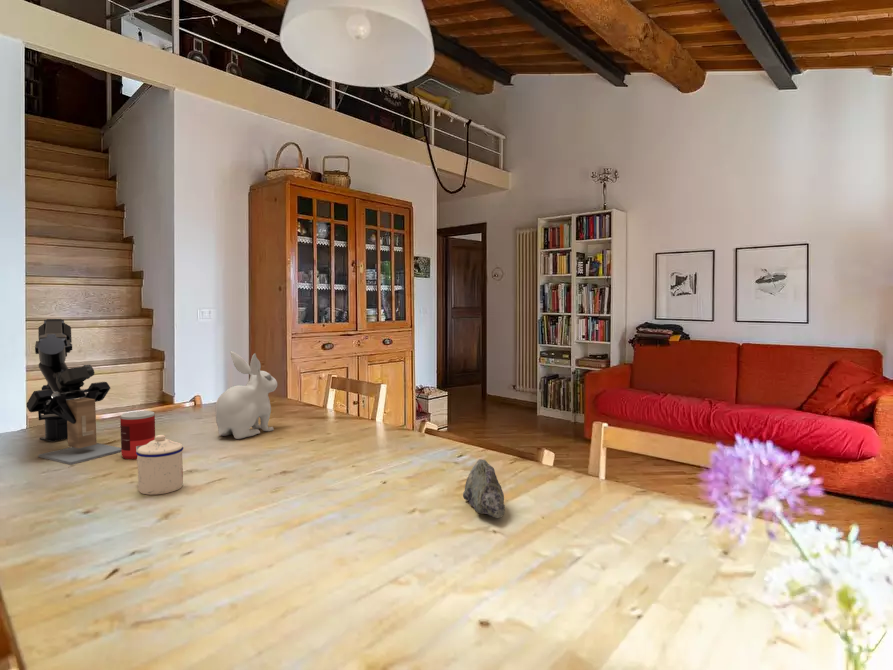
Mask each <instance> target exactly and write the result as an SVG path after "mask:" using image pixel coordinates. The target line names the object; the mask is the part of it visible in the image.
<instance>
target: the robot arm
mask: <svg viewBox="0 0 893 670" xmlns="http://www.w3.org/2000/svg"><path fill="white" fill-rule="evenodd" d="M37 329H38V340H37V341H35V346H34V351H35V352H34V353H35V354H36V355H38V359H39V363H38V368H39V370H40V372H41V374H42V375H43V377H44V379H45V380H46V382H47V384H43V386H41V390H40V389H39V390H34V391H33V392H32V394H31V396H30V397H29V398H28V400H27V402H26V408H27V410H28V412H29V413H36V412H37V413H38V416H37V417H38V421H44V436H41V437H39V440H42V441H44V442H45V441H46V442H51V443H55V442H57V441H62V440H63V441H64V440H68V431H67V421H69V422H71V423H72V424H75V423H76V419H75V417H74V415H73V413H72V412H71V410H70V408H69V407H68V405H67V403H66V400H73V399H79V398H90V399H95V403H97V402H101V401H103V400H104V399H105V397H106V396H107V394H108V393H109V391H110V390H111V386H110V384H109V383H108V382H107V381H98V382H92V383H91V384H90V385H89V386H88V388H86V389H84V388H83V386H85V383H84V381H86V380H89V379H90V378H91V377H93V376H94V375H95V370H94V368H93V366H92V364H83V366H79V367H78V366H77V367H70V368H69V367H68V365H67V364H66V362H65V361H66V359H67V357H68V354H69V353H71V352H72V351H73V344H72V341H73V340H72V327H71V326H70V325H69V324H68V323H65V320H64V319H62V318H47V319H44V320H43V323H42V324H41V325H39V327H38V328H37Z"/></svg>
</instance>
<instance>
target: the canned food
mask: <svg viewBox="0 0 893 670" xmlns="http://www.w3.org/2000/svg"><path fill="white" fill-rule="evenodd" d="M155 416H156V415H155V412H154V411H151V410H139V411H130V412H125V413H122V414H121V415H120V416H119V417H120V419H119V420H120V421H119V422H120V424H119V425H120V448H121V452H120V454H121V457H122V458H123V459H125V460H137V456H138V455H137V454H136V452H137V449H138V448H139V447H141V446H143V445H146V444H148V443H149V442H151V441H153V440H155V436H156V418H155Z"/></svg>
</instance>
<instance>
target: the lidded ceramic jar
mask: <svg viewBox="0 0 893 670" xmlns="http://www.w3.org/2000/svg"><path fill="white" fill-rule="evenodd" d="M183 450H184V447H183V444H182V443H181V442H177V441H172V440H171V439H167V438H166V436H165V435H164V434H158V435H157V434H156V435H155V440H153V441H151V442H149V443H148V444H146V445H143V446H141V447H139V448H138V449H137V452H136V454H137V455H138V456H137V459H136V464H137V474H138V475H137V480H138V482H137V484H138V485H137V486H138V492H139V493H140V494H144V495H147V496H148V495H149V496H150V495H151V496H155V495H157V496H158V495H163V494H170V493H172V492H175V491H177V490H180V489H181V488H182V487H183V485H184V474H183V473H184V469H183V468H184V467H183Z"/></svg>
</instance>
